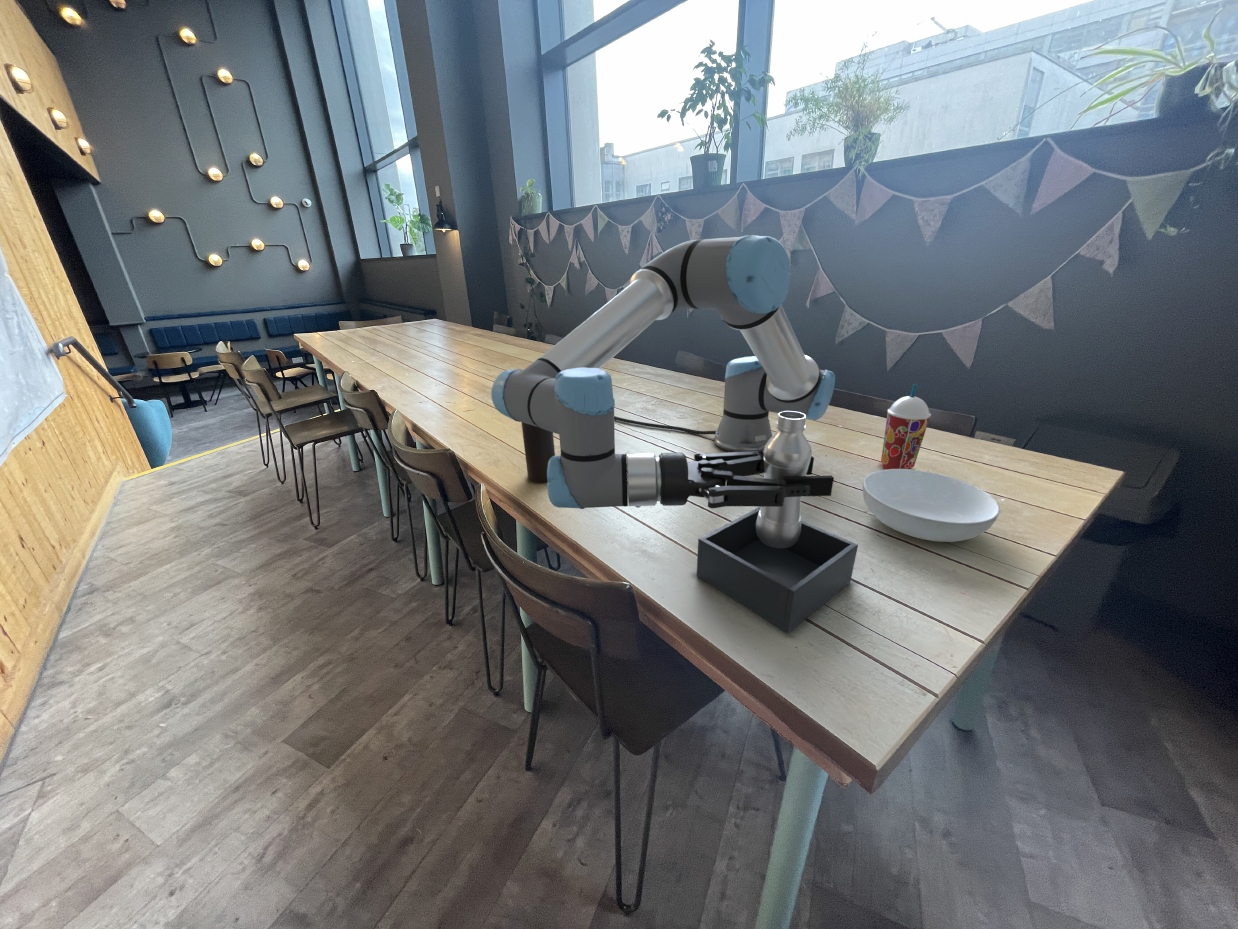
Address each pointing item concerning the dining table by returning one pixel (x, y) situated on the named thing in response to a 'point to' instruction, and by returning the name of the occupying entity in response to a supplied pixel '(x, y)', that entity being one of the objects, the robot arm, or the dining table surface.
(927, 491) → the serving bowl
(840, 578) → the bin
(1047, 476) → the dining table surface
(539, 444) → the vinegar
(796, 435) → the silver metal bottle
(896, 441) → the smoothie
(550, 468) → the robot arm
